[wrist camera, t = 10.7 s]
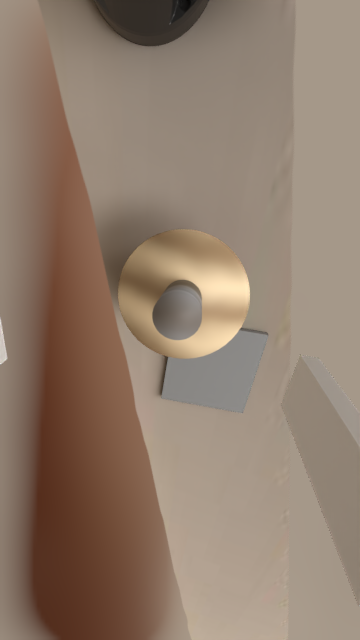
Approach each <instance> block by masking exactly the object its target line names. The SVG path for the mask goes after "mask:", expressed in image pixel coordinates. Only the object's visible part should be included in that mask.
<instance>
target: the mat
mask: <svg viewBox="0 0 360 640" xmlns="http://www.w3.org/2000/svg"><path fill="white" fill-rule="evenodd" d="M267 338H268V333H265V332H260V331H254V330H249V329H243V328H240V329H239V331H238V332H237V334H236V335H235V336H234V337H233V338H232V340H230V341H229V342H228V343H227V344H226V345H225V346H223V347H222V348H220V349H219V350H217V351H215V352H213V353H211V354H208V355H205V356H202V357H198V358H190V359H179V358H172V357H168V361H167V367H166V373H165V379H164V385H163V391H162V397H161V398H162V399H167V400H173V401H178V402H184V403H189V404H195V405H200V406H206V407H211V408H217V409H222V410H228V411H233V412H239V413H243V411H244V408H245V405H246V402H247V399H248V396H249V393H250V390H251V387H252V384H253V381H254V378H255V375H256V372H257V369H258V366H259V363H260V360H261V357H262V354H263V351H264V348H265V345H266V341H267Z"/></svg>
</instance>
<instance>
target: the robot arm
mask: <svg viewBox="0 0 360 640" xmlns="http://www.w3.org/2000/svg"><path fill="white" fill-rule="evenodd" d="M94 1H95V3H96V5H97V7H98V9H99V11H100V12H101V14H102V16H103V17H104V18H105V20H106V21H107V22H108V24H109V25H110V26H111V27H112V28H113V29H114V30H115V31H116V32H117V33H119V34H120V35H121V36H123V37H124V38H126V39H128V40H129V41H132V42H134V43H137V44H140V45H146V46H157V45H162V44H166V43H169V42H171V41H173V40H175V39H177V38H178V37H180V36H181V35H183V34H184V33H185V32H186V31H188V30H189V29H190V28H191V27H192V26H193V24H194V23H195V22H196V21H197V20H198V18H199V17H200V15H201V14H202V12H203V11H204V9H205V7H206V5H207V3H208V1H209V0H94ZM6 360H7V354H6V348H5V342H4V337H3V330H2V325H1V319H0V364H2V363H3V362H4V361H6ZM281 406H282V409H283V411H284V414H285V417H286V419H287V422H288V424H289V427H290V430H291V432H292V435H293V437H294V440H295V442H296V445H297V448H298V450H299V453H300V456H301V458H302V461H303V463H304V466H305V469H306V471H307V474H308V476H309V479H310V482H311V484H312V487H313V490H314V492H315V495H316V497H317V500H318V503H319V505H320V508H321V510H322V513H323V516H324V518H325V521H326V523H327V526H328V528H329V531H330V534H331V536H332V539H333V542H334V544H335V547H336V549H337V552H338V555H339V557H340V560H341V562H342V565H343V568H344V570H345V573H346V575H347V578H348V581H349V583H350V586H351V588H352V591H353V594H354V596H355V599H356V601H357V604H358V606H360V413H359V411H358V410H357V409H356V407H355V406H354V405H353V403H352V402H351V401H350V399H349V398H348V397H347V396H346V394H345V393H344V391H343V390H342V389H341V387H340V386H339V385H338V383H337V382H336V381H335V379H334V378H333V377H332V375H331V374H330V373H329V372H328V370H327V369H326V367H325V366H324V365H323V363H322V362H321V361H320V359H319V358H316V357H310V356H304V355H300V357H299V360H298V362H297V365H296V367H295V370H294V373H293V375H292V378H291V380H290V383H289V385H288V388H287V390H286V393H285V396H284V398H283V401H282V403H281Z"/></svg>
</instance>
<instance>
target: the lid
mask: <svg viewBox="0 0 360 640" xmlns="http://www.w3.org/2000/svg"><path fill="white" fill-rule="evenodd" d="M118 300H119V306H120V311H121V314H122V316H123V319H124V321H125V323H126V325H127V327H128V328H129V330H130V331H131V332H132V334H133V335H134V336H135V337H136V338H137V339H138V340H139V341H140V342H141V343H142V344H143V345H145V346H146V347H148V348H149V349H151V350H153V351H155V352H157V353H159V354H162V355H164V356H168V357H172V358H179V359H190V358H198V357H202V356H205V355H208V354H211V353H213V352H215V351H217V350H219V349H220V348H222V347H223V346H225V345H226V344H227V343H228V342H229V341H230V340H232V338H233V337H234V336H235V335H236V334H237V332H238V331H239V329H240V328H241V326H242V324H243V322H244V320H245V318H246V315H247V312H248V307H249V301H250V289H249V282H248V278H247V275H246V272H245V269H244V267H243V265H242V263H241V262H240V260H239V259H238V257H237V256H236V254H235V253H234V252H233V251H232V250H231V249H230V248H229V247H228V246H227V245H226V244H224V243H223V242H222V241H220V240H219V239H217V238H215V237H213V236H211V235H209V234H206V233H204V232H200V231H196V230H188V229H176V230H170V231H166V232H163V233H160V234H157V235H155V236H153V237H151V238H149V239H148V240H146V241H145V242H143V243H142V244H141V245H140V246H139V247H137V248H136V249H135V251H134V252H133V253H132V254H131V255H130V257H129V258H128V260H127V261H126V263H125V265H124V267H123V270H122V272H121V276H120V279H119V286H118Z"/></svg>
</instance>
